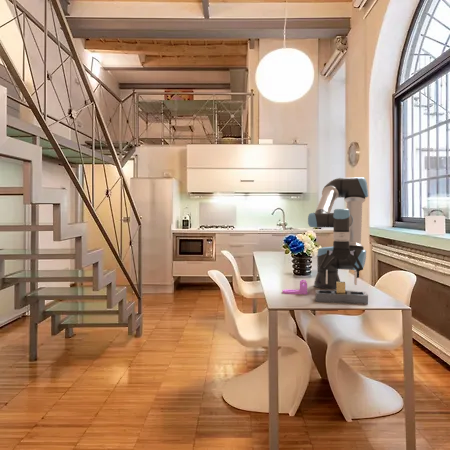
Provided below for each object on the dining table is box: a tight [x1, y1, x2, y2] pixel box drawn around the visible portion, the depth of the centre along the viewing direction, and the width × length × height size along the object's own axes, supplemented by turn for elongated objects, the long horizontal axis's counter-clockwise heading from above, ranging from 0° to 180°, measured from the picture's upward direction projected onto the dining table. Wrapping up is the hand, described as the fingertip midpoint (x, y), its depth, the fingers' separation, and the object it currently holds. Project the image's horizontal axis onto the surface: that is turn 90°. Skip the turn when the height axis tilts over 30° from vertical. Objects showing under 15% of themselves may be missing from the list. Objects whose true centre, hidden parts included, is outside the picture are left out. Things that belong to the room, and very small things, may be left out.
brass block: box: [335, 281, 346, 294], centre depth 193 cm, size 4×4×9 cm
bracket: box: [281, 279, 308, 295], centre depth 212 cm, size 13×6×7 cm, turn 81°
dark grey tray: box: [315, 289, 369, 305], centre depth 193 cm, size 9×24×4 cm, turn 78°
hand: (340, 284), depth 193 cm, fingers open, 13 cm apart
